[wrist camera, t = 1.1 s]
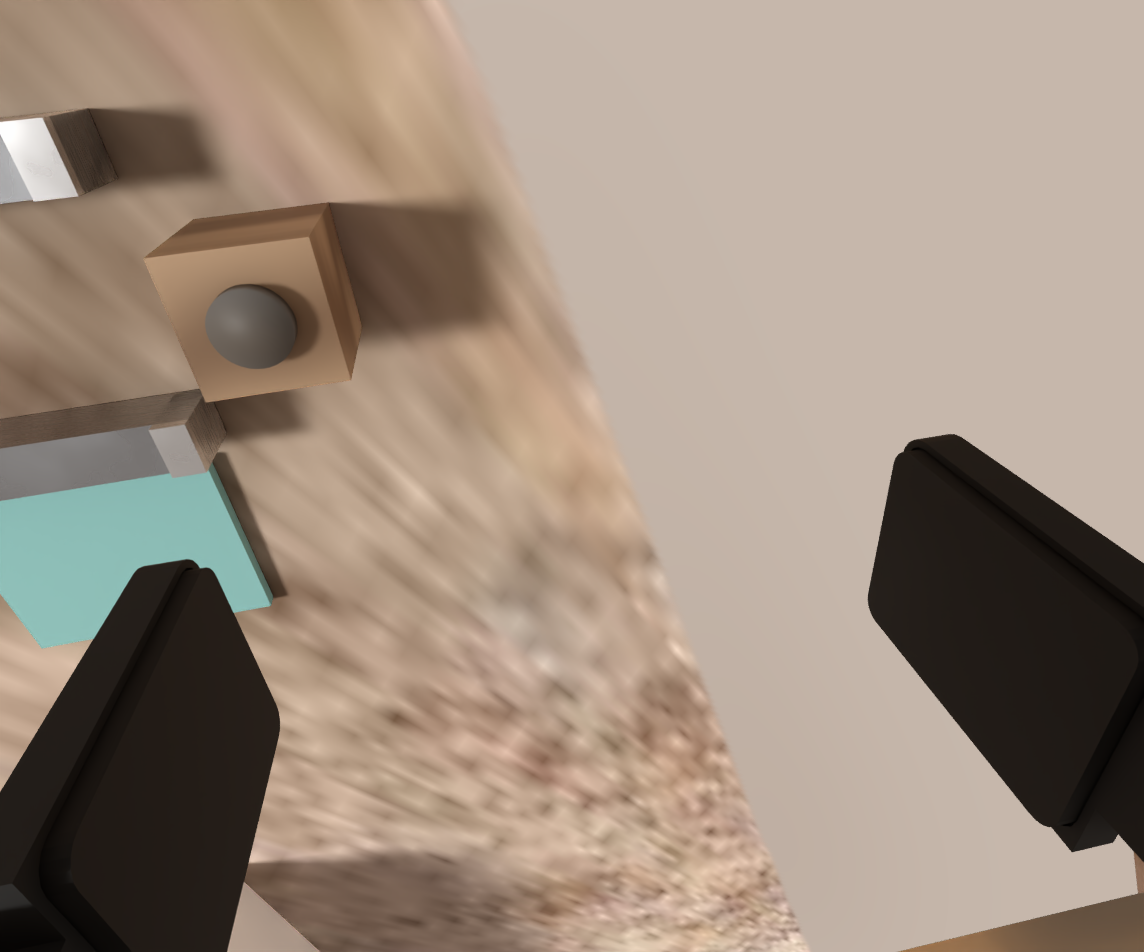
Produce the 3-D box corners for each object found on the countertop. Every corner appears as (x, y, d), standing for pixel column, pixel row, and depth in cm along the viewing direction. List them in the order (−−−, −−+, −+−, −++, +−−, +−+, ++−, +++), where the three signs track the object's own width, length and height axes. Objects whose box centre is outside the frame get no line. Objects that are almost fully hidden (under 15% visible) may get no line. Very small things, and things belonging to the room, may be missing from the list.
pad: (-58, 496, 26) (-68, 504, 26) (208, 453, 27) (204, 460, 27) (47, 638, 31) (41, 648, 30) (273, 596, 32) (270, 605, 31)
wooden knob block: (193, 219, 23) (135, 264, 18) (329, 202, 23) (305, 241, 19) (241, 343, 25) (200, 411, 21) (362, 325, 26) (349, 388, 21)
